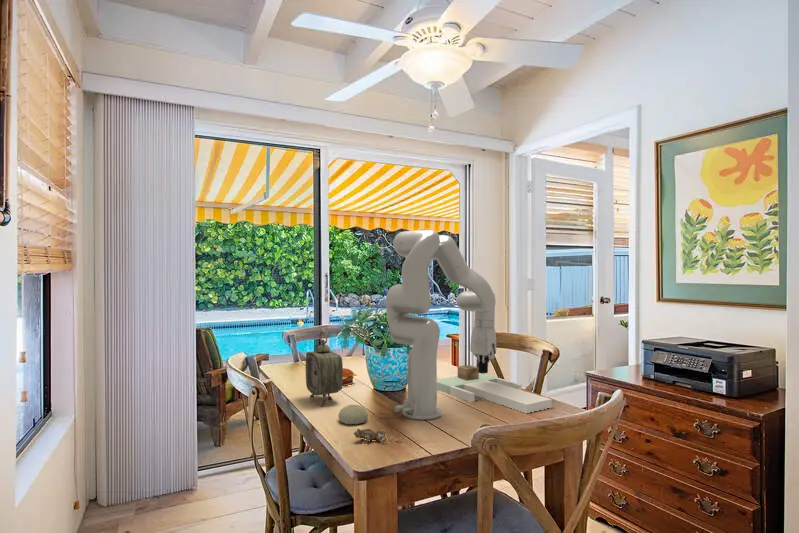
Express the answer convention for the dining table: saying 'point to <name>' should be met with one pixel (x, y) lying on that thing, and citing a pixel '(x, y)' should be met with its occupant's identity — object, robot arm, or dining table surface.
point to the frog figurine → (371, 435)
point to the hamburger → (347, 377)
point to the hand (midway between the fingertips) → (483, 372)
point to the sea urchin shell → (353, 414)
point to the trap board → (494, 392)
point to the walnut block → (468, 372)
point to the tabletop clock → (323, 371)
